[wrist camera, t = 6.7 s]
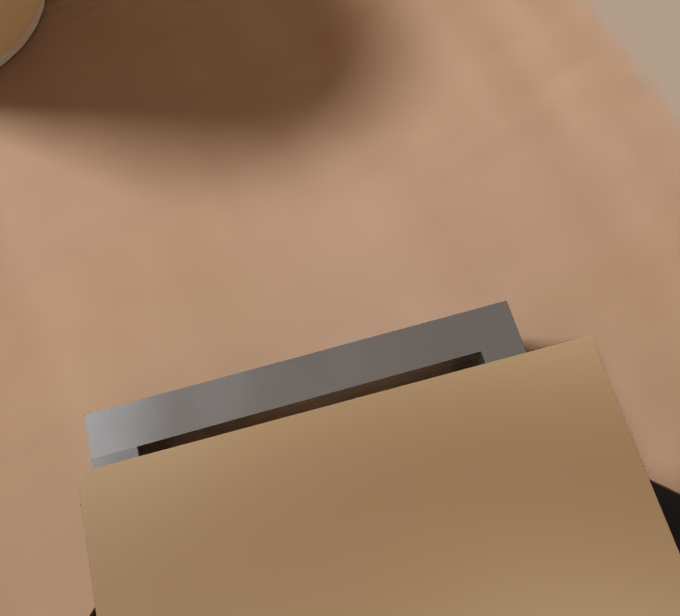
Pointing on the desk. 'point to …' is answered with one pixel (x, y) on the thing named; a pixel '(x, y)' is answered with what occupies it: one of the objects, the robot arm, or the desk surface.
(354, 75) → the desk surface
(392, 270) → the desk surface
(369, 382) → the grey square tray
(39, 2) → the coffee cup
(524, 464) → the rectangular block
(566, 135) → the desk surface
